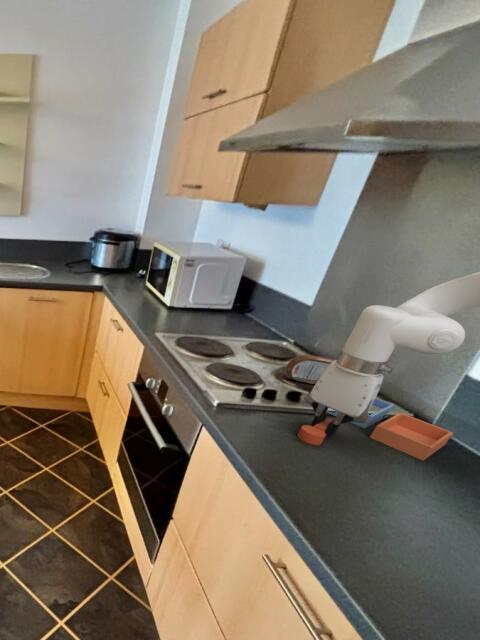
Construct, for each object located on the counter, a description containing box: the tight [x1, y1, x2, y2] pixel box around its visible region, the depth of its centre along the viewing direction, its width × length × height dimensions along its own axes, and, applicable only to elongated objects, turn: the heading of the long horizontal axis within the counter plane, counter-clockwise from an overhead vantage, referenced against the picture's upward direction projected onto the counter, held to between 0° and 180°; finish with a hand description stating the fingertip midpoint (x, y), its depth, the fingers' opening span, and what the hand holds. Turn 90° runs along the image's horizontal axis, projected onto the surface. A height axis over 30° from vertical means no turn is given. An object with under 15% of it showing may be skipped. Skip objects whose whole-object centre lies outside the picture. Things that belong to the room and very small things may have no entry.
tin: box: [285, 354, 336, 380], centre depth 122 cm, size 15×3×8 cm, turn 71°
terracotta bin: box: [369, 412, 454, 461], centre depth 97 cm, size 10×14×4 cm
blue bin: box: [326, 397, 396, 429], centre depth 108 cm, size 10×14×4 cm
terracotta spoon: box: [297, 418, 333, 446], centre depth 97 cm, size 5×11×3 cm, turn 119°
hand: (320, 432), depth 99 cm, fingers closed on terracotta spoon
